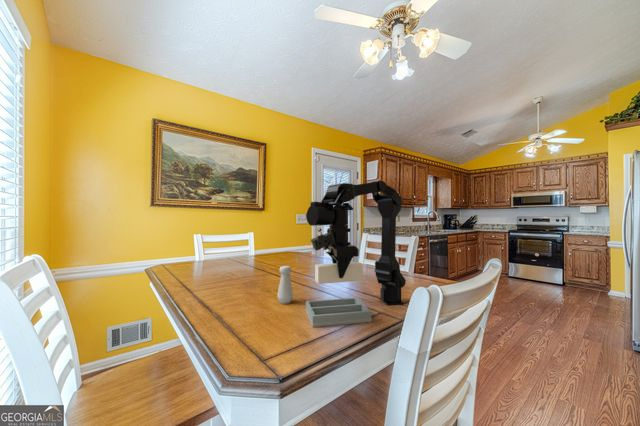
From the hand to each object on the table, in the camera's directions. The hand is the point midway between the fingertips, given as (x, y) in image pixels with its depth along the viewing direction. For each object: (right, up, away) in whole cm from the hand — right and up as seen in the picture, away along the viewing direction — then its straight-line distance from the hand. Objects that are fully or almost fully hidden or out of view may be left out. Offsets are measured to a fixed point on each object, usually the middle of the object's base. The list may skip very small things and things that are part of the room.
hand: (339, 276), depth 76 cm
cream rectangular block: (0, -1, 0) cm, 1 cm away
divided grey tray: (-1, -13, +3) cm, 13 cm away
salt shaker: (-19, -14, +16) cm, 28 cm away
